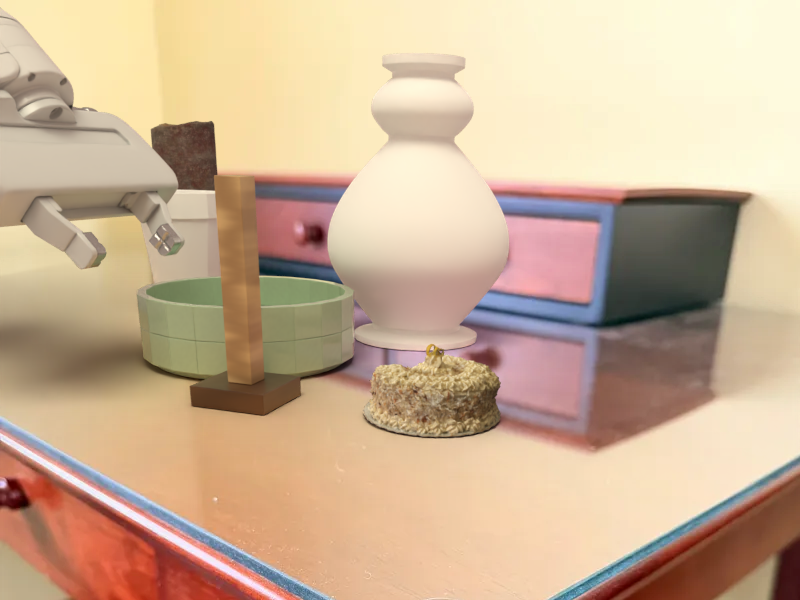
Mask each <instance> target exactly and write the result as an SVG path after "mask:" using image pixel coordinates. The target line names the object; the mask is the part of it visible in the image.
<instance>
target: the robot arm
mask: <svg viewBox="0 0 800 600" xmlns="http://www.w3.org/2000/svg"><path fill="white" fill-rule="evenodd" d="M74 100H75V93H74V88H73V85H72V83H71V81H70V80H69V78H68V77H67V75H65V74H64V72H63V71H62V70H61V69H60V68H59V67H58V66H57V64H56V63H55V61H53V59H52V58H51V57H50V56H49V55H48V54H47V52H46V51H45V50H44V49H43V48H42V47H41V45H40V44H39V43H38V42H37V41H36V40H35V38H34V37H33V36H32V35H31V34H30V32H29V31H28V30H27V29H26V27H25V26H24V25H23V24H22V23H21V22H20V21H19V20H18V19H17V18H16V17H14V16H13V15H11V14H10V13H8V12H7V11H5V10H4V9H3V8H2V7H0V228H8V227H19V226H26V227H27V228H28V229H29V230H30V231H31V232H32V234H33V235H34V236H36V237H37V238H39V239H40V240H42V241H44V242H45V243H48V244H49V245H51V246H53V247H54V248H56V249H58V250H59V251H61V252H63V253H64V254H65V255H67V257H68V258H69V259H70V261H71V262H73V264H74V265H75V266H76V267H77V268H78V269H80V270H86V269H93V268H98V267H99V266H100V265H101V264H102V262H103V260H104V259H105V258H106V257H107V250H106V247H105V246H104V245H103V243H101V242H99V238H97V237H96V235H95V234H94V233H93V232H92V231H84V232H83V230H81V229H80V228H79V227H77V226H76V225H75V224H74V223H73V222H76V221H88V220H89V221H90V220H100V219H110V218H121V217H122V218H123V217H135V218H136V219H137V220H138V221H139V222H140V224H141V223H147V225H148V227H149V229H150V232H151V234H152V237H151V238H150V240H149V242H150V243H151V244H152V245H153V246H154V247H155V248H156V249H157V250H158V252H159V253H160V254H161V255H163V256H168V255H174V254H177V253H178V252H179V251H180V249H181V248H182V247H183V245H184V242H185V240H184V237H183V236H182V235H181V234H180V233H179V231H178V230H177V229H176V228H175V227H174V225H173V224H172V220H171V217H170V214H169V211H168V208H167V205H166V204H167V203H168V202H169V201H170V199H171V198H172V196H173V195H174V193H175V192H176V190H177V189H178V181H177V178H176V175H175V173H174V172H173V170H172V169H171V168H170V167H169V166H168V165H167V163H166V162H165V161H164V160H163V159H162V158H161V157H160V156H159V155H158V154H157V153H156V152H155V150H154V149H153V148H152V145H150V144H149V143H148V141H146V139H144V138H143V137H142V136H141V135H140V134H139V133H138V131H136V130H135V129H134V128H133V127H132V126H131V125H130V124H128V123H127V122H126V121H124V120H123V118H121V117H119V116H117V115H115V114H112V113H110V112H105V111H104V112H103V111H98V110H97V109H95V108H93V107H89V106H88V107H87V106H85V107H77V106H74Z"/></svg>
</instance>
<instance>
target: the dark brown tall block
mask: <svg viewBox="0 0 800 600" xmlns="http://www.w3.org/2000/svg"><path fill="white" fill-rule="evenodd" d="M150 139H151V140H150V141H151V147H152V148H153V149H154V150H155V152H156V153H157V154H158V155H159V156H160V157H161V158H162V159H163V160H164V161H165V162H166V163H167V165H168V166H169V167H170V168H171V169H172V170H173V172H174V173H175V175H176V178H177V181H178V189H177V190H207V191H215V185H214V175H219V173H218V164H217V162H218V161H217V160H218V159H217V146H216V144H217V143H216V133H215V123H214V122H213V121H212V120H209V121H199V120H195V121H188V122H184V123H179V124H171V123H167V122H165V123H160V124H158V125H156V126H154V127H152V128H150Z"/></svg>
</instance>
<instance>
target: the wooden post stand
mask: <svg viewBox="0 0 800 600" xmlns="http://www.w3.org/2000/svg"><path fill="white" fill-rule="evenodd" d="M255 179H256V177H255V176H254V175H240V174H218V175H214V185H215V199H216V214H217V228H218V243H219V258H220V272H221V287H222V301H223V316H224V330H225V345H226V359H227V371H224V372H222V373H220V374H217V375H215V376H212V377H210V378H208V379H202V380H201V381H198V382H195V383H193V384H191V385H189V395H190V405H191V407H197V408H206V409H215V410H221V411H230V412H235V413H244V414H252V415H259V416H265V415H267V414H269V413H270V412H273V411H274V410H276V409H279V408H280V407H282V406H283V405H285V404H287V403H289V402H291V401H292V400H295V399H296V398H299V397H300V396H301V395H302V388H301V377H300V376H294V375H286V374H277V373H268V372H264V359H263V339H262V319H261V299H260V279H259V276H260V259H259V240H258V238H259V237H258V221H257V220H258V219H257V200H256V182H255V181H256V180H255Z"/></svg>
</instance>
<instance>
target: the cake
mask: <svg viewBox="0 0 800 600" xmlns="http://www.w3.org/2000/svg"><path fill="white" fill-rule="evenodd" d="M432 346H434V350H433V351H430V349H431V347H432ZM445 353H446V352H445V350H444V349H441V348H438V347H436V346H435V345H434V344H430V345H428V347H427V348H426V351H425V354H426V356H425V358H424V361H423V362H418V363H417V365H414V366H412V367H410V366H408V365H406V366H403V364H402V363H401V364H400V363H398V364H397V363H392V364H380V365H379V366H376V368H374V371H373V372H372V376H371V379H369V382H370V389H369V392H370V394H371V396H372V398H371V399H370V400H369V401H368V402H367V403H366V404H365V406H363V409H362V412H363V415H364V417H365V418H366V420H367V421H369V422H370V423H371V424H372V425H375V426H376V427H378V428H382V429H385V430H386V431H390V432H394V433H398V434H404V435H409V436H416V437H417V436H419V437H421V438H422V437H423V438H428V437H434V438H443V437H445V438H455V437H463V436H468V435H469V436H471V435H474V434H475V435H476V434H477V433H484V432H485V431H489V430H490V429H491V428H492V427H496V425H497V424H498V423H500V422H501V421H500V419H501V418H502V417H501V414H502V412H501V411H500V409H499V406H498V404H497V398H496V397H497V396H498V393H499V389H500V388H501V384H502V381H500V376H498V375H497V374H496V373H495V371H493V370H492V368H490V365H486V364H484V363H481V362H477V361H475V360H470V359H468V360H467V359H465V357H461V356H454V355H450V354H445Z"/></svg>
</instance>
